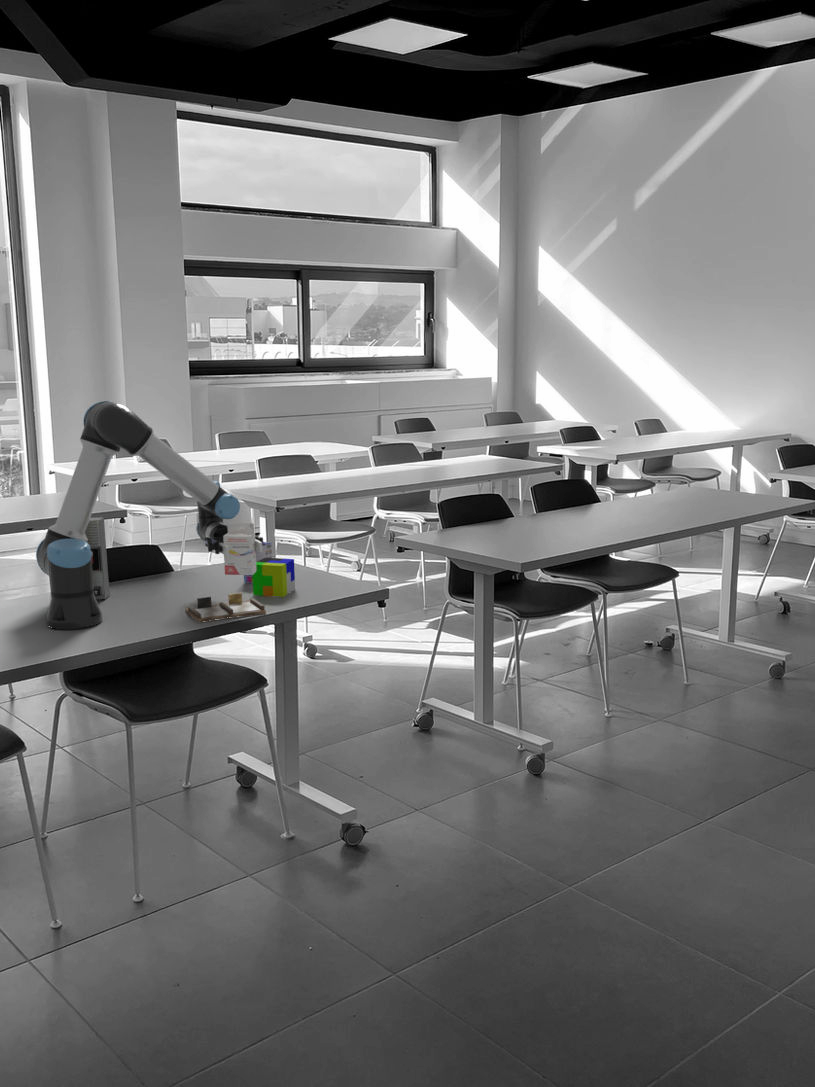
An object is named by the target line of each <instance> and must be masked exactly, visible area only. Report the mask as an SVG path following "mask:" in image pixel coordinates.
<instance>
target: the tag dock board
mask: <svg viewBox="0 0 815 1087" xmlns="http://www.w3.org/2000/svg"><path fill="white" fill-rule="evenodd" d="M227 595H228V602H219V603H216V604H212V597H211V596H206V597H205V596H204V597H198V598H196V601H197V602H196V603H197V604H196V605H197V606H194V607H193V606H188V607H186V608H184V609H185V613H186V612H187V613H186V614H188V615H189V616H190V617H191V618H192V617H193V618H192V619H193V620H195V621H196V620H197V621H198V622H203V621H209V620H215V619H221V618H227V617H228V618H229V617H237V616H245V617H248V616H247V615H253V616H259V615H258V614H260V615H266V614H267V611H266V610H267V609H266V608H265V604H263V603H262V602H260V601H259V600H257V599H256V598H254V597H251V598H249V599H246V600H243V593H242V592H237V593H231V594H230V593H229V594H227ZM197 621H196V622H197ZM198 622H197V623H198ZM203 623H204V622H203Z"/></svg>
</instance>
